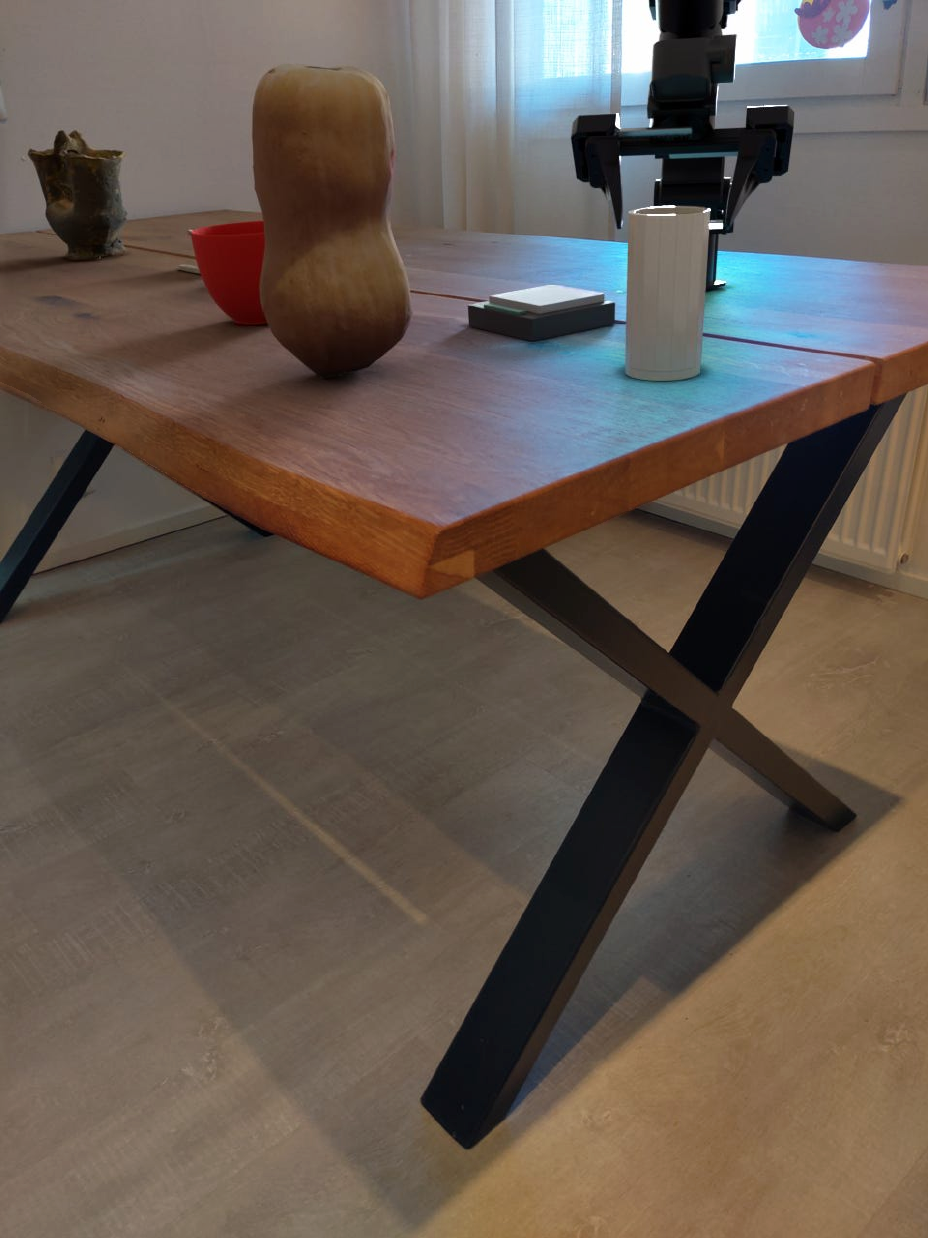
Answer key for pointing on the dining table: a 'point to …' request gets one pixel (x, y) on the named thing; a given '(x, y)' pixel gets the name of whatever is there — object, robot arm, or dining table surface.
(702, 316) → the tumbler
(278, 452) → the dining table surface
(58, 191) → the pottery vessel
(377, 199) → the butternut squash
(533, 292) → the scale
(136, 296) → the dining table surface
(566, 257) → the dining table surface
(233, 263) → the ceramic cup
